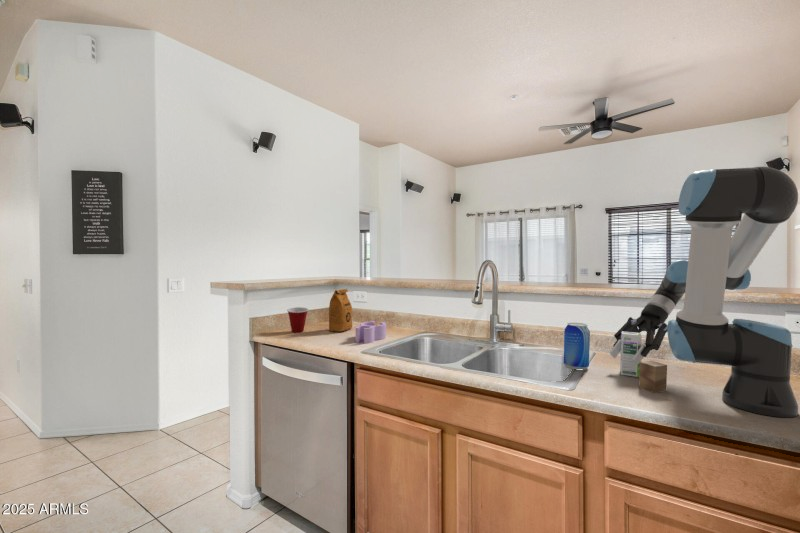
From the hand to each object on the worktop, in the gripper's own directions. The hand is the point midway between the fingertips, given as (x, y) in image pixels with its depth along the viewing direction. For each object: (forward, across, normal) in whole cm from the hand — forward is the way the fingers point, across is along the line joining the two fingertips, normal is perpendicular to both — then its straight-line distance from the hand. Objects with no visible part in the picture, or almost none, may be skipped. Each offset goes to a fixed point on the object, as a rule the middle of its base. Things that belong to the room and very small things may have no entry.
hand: (623, 358), depth 129 cm
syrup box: (+2, 0, -6) cm, 7 cm away
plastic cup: (+74, +107, +66) cm, 146 cm away
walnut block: (+7, -13, -2) cm, 15 cm away
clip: (+52, +80, +43) cm, 105 cm away
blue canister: (+10, +12, +2) cm, 16 cm away
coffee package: (+58, +104, +50) cm, 129 cm away
